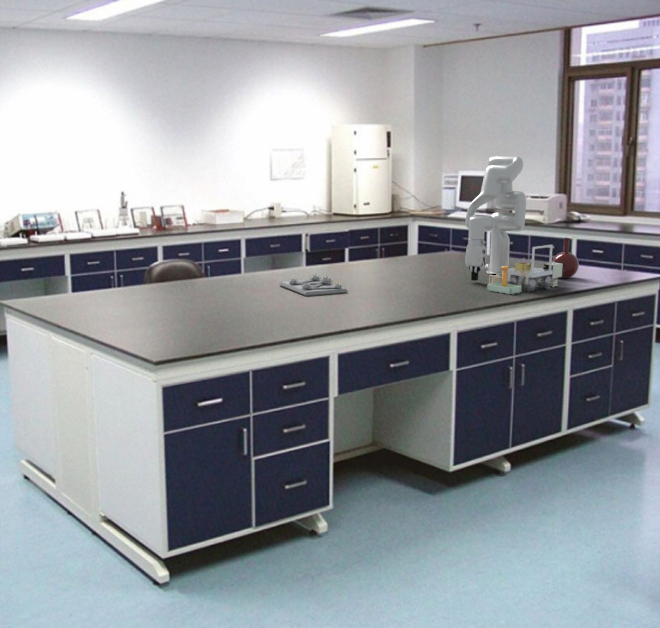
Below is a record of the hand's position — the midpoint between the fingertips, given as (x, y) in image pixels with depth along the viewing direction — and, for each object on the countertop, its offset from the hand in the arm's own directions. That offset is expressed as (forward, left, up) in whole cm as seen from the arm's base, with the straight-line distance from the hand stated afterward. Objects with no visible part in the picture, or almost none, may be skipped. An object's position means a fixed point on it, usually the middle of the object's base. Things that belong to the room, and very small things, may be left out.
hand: (474, 280), depth 428 cm
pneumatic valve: (+30, +20, -1) cm, 36 cm away
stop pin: (+24, -9, -1) cm, 26 cm away
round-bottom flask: (+20, +46, -2) cm, 50 cm away
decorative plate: (-36, -73, -2) cm, 81 cm away
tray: (+24, -9, -1) cm, 26 cm away
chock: (+12, +1, -1) cm, 12 cm away
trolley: (+26, +6, -1) cm, 27 cm away
